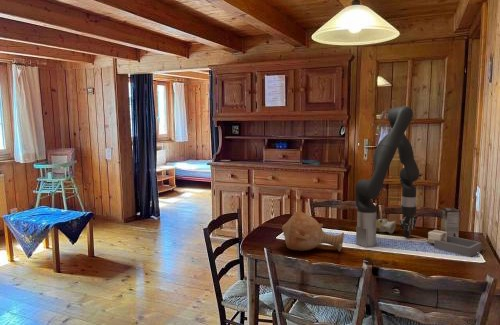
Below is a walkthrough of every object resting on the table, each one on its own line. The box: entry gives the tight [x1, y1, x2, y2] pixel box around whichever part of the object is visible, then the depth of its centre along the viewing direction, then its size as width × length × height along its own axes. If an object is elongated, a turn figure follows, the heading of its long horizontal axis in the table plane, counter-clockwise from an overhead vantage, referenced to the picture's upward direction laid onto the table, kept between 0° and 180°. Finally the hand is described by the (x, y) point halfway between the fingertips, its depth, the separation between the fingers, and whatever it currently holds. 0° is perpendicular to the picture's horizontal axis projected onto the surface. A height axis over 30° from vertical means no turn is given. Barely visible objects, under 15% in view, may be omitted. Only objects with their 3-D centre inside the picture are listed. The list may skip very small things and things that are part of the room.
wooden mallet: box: [406, 226, 447, 244], centre depth 189 cm, size 7×20×6 cm, turn 37°
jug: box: [281, 211, 345, 253], centre depth 179 cm, size 20×19×30 cm
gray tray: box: [433, 235, 483, 258], centre depth 176 cm, size 13×16×4 cm
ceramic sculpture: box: [376, 217, 397, 234], centre depth 208 cm, size 11×9×15 cm
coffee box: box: [440, 206, 461, 238], centre depth 192 cm, size 9×6×16 cm
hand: (408, 236), depth 196 cm, fingers closed on wooden mallet, 2 cm apart
